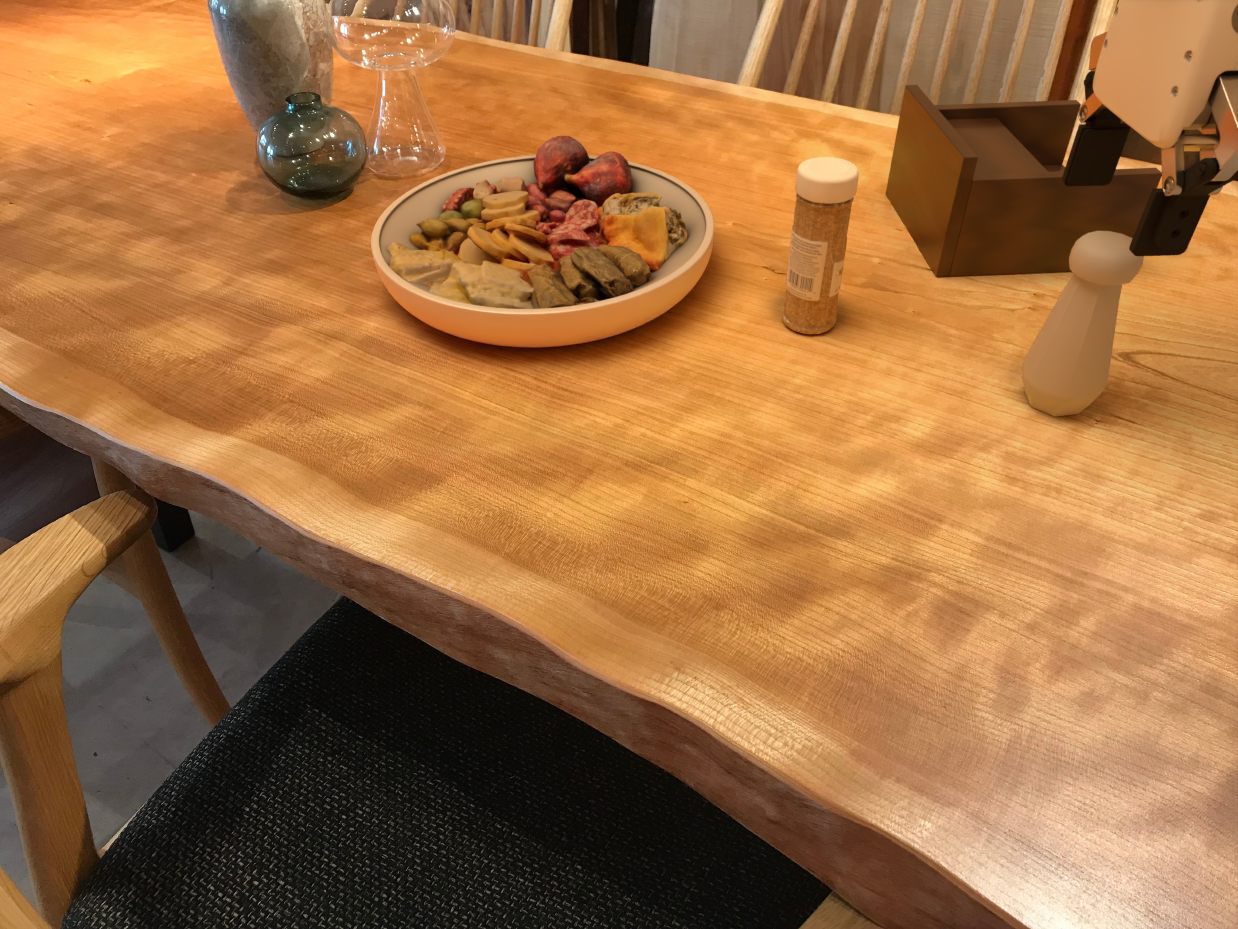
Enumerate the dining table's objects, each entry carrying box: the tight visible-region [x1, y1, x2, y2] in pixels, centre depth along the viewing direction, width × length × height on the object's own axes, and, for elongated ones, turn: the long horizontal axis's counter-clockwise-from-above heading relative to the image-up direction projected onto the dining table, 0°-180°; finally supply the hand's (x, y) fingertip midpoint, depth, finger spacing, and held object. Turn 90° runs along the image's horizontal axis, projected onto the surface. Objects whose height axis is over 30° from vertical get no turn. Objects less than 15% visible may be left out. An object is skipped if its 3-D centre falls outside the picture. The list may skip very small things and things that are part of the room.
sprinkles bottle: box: [781, 156, 860, 335], centre depth 72 cm, size 5×5×13 cm
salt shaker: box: [1020, 231, 1145, 418], centre depth 63 cm, size 6×6×13 cm
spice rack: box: [885, 84, 1162, 278], centre depth 84 cm, size 17×17×11 cm
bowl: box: [370, 135, 715, 348], centre depth 81 cm, size 30×30×8 cm
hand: (1118, 216), depth 58 cm, fingers open, 9 cm apart
